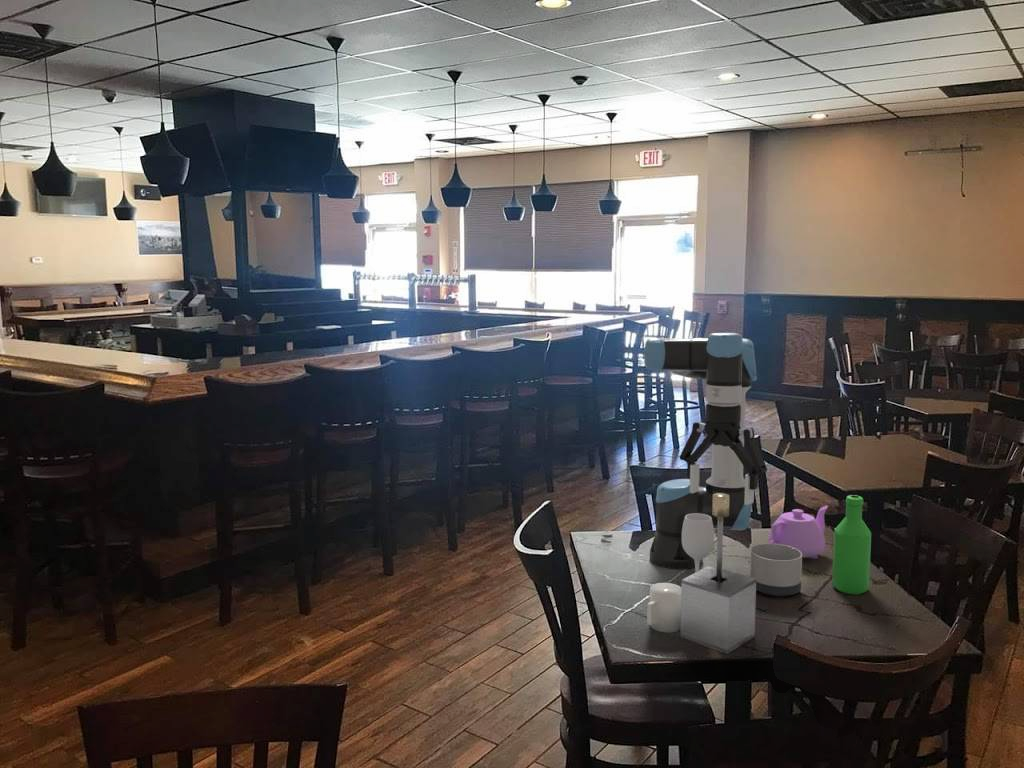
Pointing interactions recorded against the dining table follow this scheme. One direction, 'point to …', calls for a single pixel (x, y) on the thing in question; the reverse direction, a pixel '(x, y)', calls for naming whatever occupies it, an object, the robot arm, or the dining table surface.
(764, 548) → the planter
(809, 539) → the teapot
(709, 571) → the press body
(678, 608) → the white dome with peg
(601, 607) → the dining table surface
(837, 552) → the bottle
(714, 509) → the plunger
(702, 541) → the wineglass
